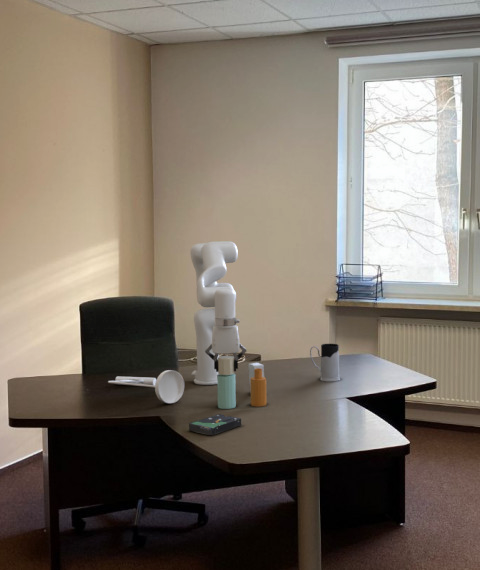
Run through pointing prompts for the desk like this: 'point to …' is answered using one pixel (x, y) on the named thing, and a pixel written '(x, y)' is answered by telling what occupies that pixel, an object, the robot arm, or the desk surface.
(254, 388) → the amber bottle
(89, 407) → the desk surface
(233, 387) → the bottle
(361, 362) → the desk surface
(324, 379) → the glass holder
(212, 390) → the desk surface
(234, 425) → the disk drive
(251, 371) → the cosmetic box
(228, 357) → the cream short cylinder
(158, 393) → the desk lamp
